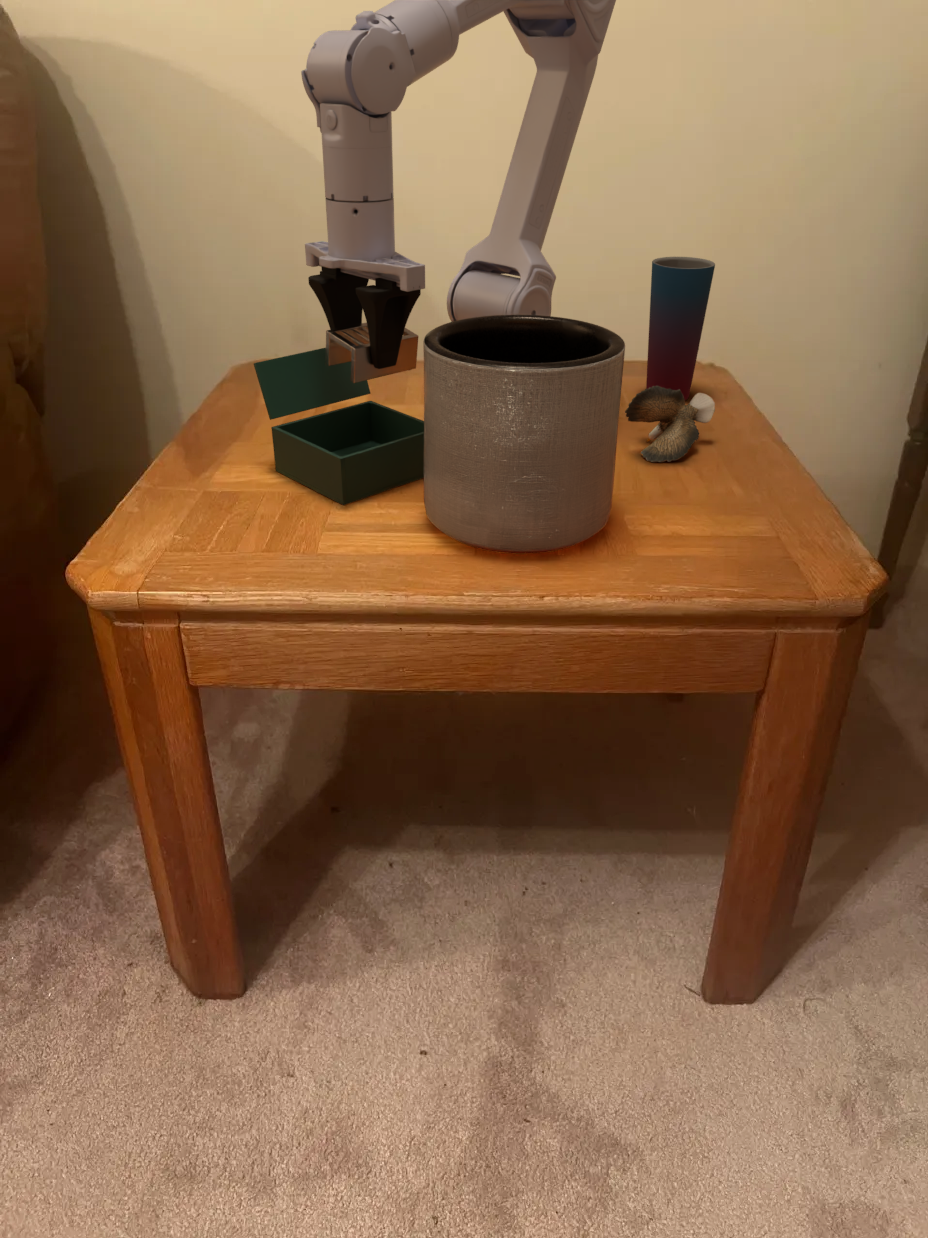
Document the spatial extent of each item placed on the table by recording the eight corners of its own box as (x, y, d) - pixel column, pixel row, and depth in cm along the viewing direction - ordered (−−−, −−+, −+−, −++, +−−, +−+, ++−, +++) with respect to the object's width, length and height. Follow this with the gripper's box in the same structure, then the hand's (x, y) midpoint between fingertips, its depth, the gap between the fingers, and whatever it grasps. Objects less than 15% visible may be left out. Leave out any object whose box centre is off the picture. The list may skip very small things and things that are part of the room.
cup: (701, 405, 108) (721, 268, 101) (642, 404, 109) (657, 267, 101) (690, 387, 114) (708, 256, 107) (634, 386, 114) (647, 256, 107)
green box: (275, 470, 91) (271, 426, 88) (372, 441, 97) (370, 400, 95) (343, 505, 84) (340, 458, 82) (442, 471, 91) (442, 427, 88)
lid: (271, 419, 88) (269, 419, 88) (370, 393, 95) (368, 393, 95) (255, 362, 86) (253, 363, 87) (356, 340, 93) (354, 341, 94)
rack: (387, 350, 90) (388, 317, 88) (416, 368, 88) (418, 335, 86) (325, 364, 86) (325, 330, 84) (354, 383, 84) (355, 349, 82)
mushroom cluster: (634, 415, 102) (605, 424, 94) (679, 363, 98) (653, 369, 90) (685, 464, 101) (659, 478, 93) (732, 414, 97) (710, 424, 89)
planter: (422, 483, 88) (419, 313, 80) (592, 480, 89) (606, 312, 81) (426, 563, 75) (423, 367, 66) (627, 559, 75) (648, 365, 67)
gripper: (271, 192, 81) (285, 350, 88) (375, 211, 72) (381, 386, 79) (337, 186, 86) (345, 338, 93) (444, 204, 76) (444, 370, 83)
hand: (366, 359), depth 86 cm, fingers closed on rack, 5 cm apart
